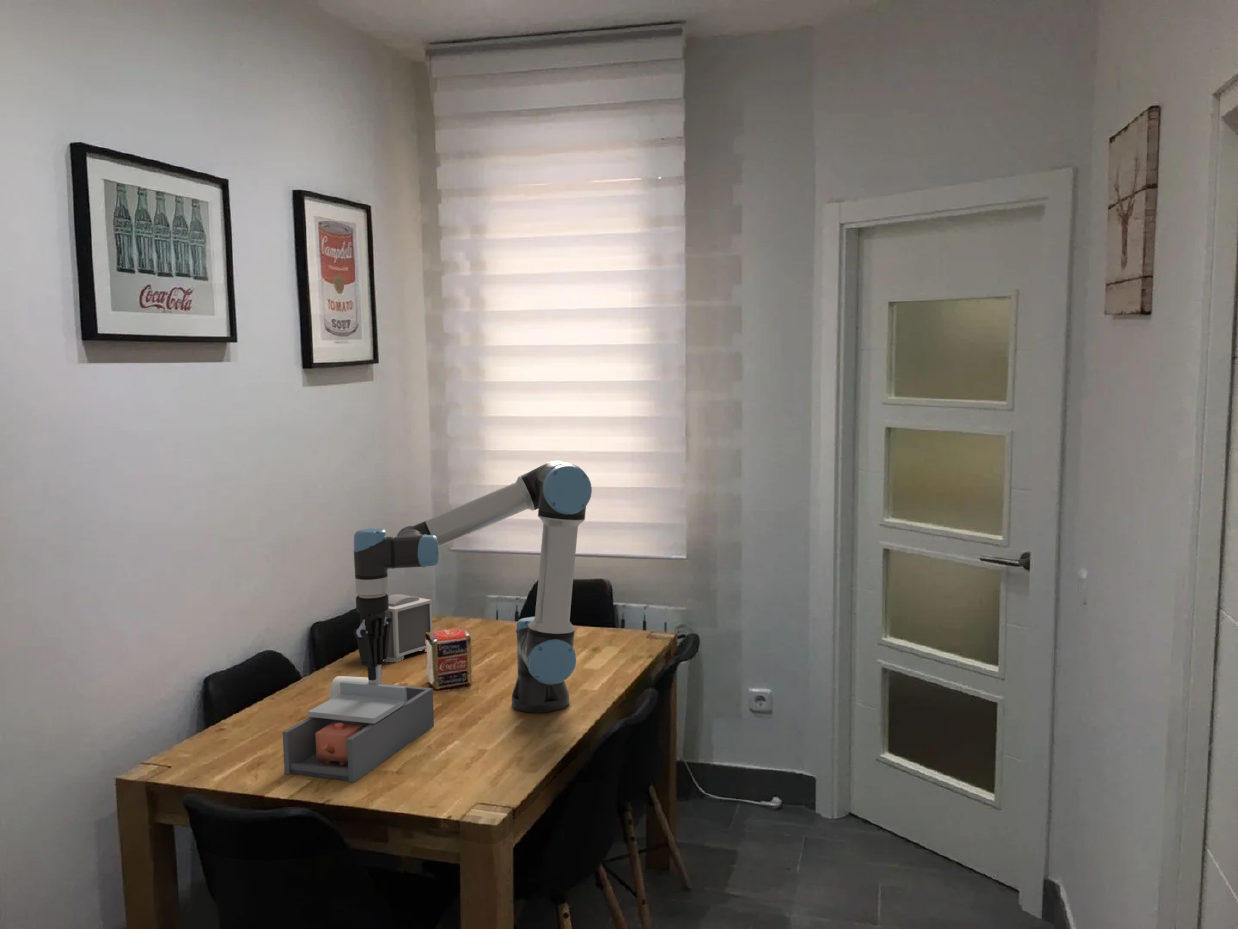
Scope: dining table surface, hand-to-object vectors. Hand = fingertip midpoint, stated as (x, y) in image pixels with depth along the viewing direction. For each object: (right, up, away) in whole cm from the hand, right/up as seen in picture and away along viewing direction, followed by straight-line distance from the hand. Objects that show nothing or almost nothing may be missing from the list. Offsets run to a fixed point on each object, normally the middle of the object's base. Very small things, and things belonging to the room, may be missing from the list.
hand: (375, 692), depth 230 cm
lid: (-2, -2, -7) cm, 8 cm away
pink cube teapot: (-4, -12, -14) cm, 19 cm away
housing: (-1, -12, -5) cm, 13 cm away
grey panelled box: (-11, -6, +74) cm, 75 cm away
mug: (-11, -10, +27) cm, 30 cm away
